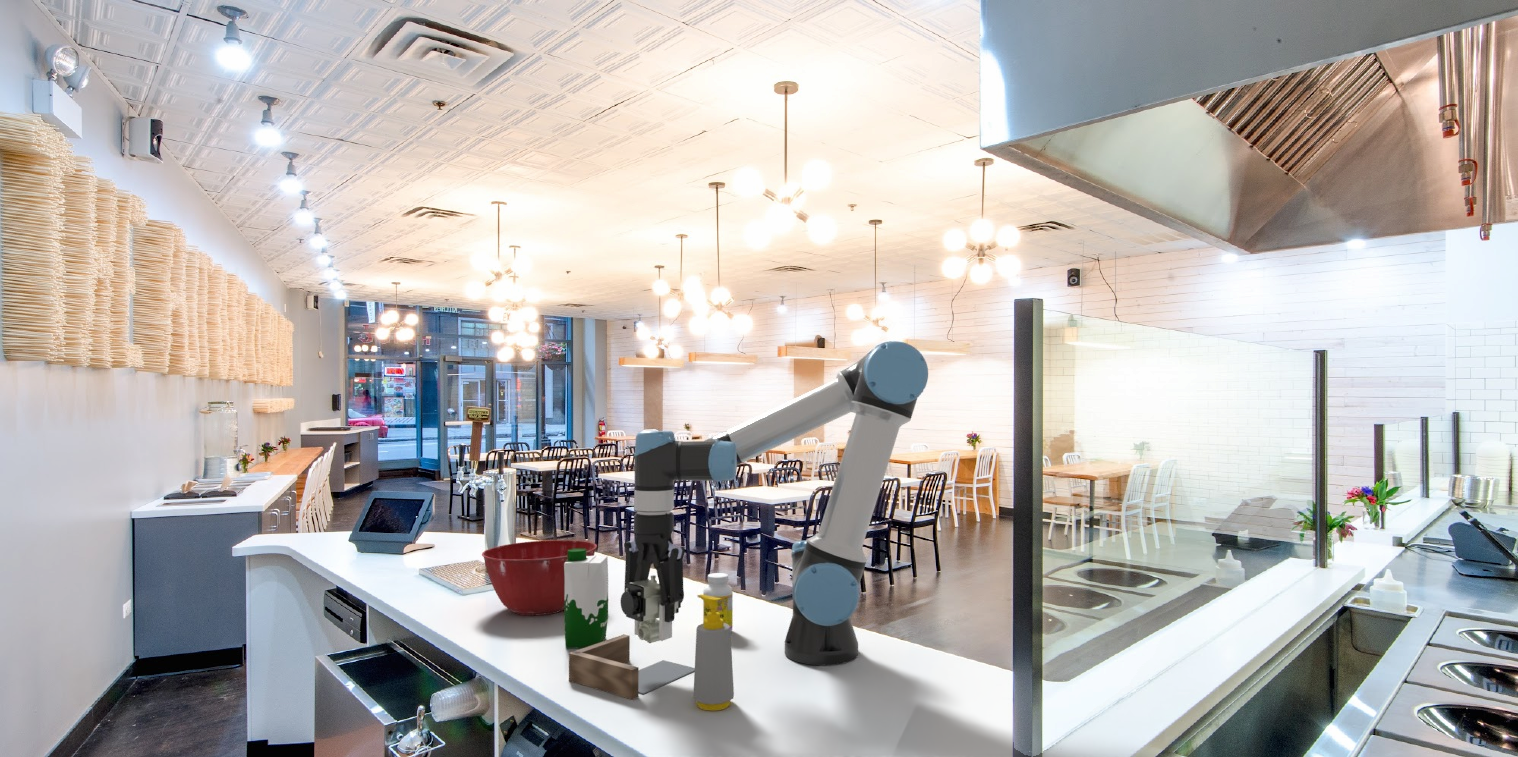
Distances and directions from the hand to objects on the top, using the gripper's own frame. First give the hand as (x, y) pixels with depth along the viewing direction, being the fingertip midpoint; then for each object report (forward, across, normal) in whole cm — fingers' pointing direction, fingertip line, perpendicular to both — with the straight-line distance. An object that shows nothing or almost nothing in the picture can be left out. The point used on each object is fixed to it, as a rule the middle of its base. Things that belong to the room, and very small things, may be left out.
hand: (653, 635), depth 136 cm
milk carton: (+8, +26, -7) cm, 28 cm away
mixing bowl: (+8, +58, -20) cm, 62 cm away
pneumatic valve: (+1, 0, 0) cm, 1 cm away
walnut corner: (+8, +3, +3) cm, 9 cm away
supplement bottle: (+8, +7, -29) cm, 31 cm away
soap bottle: (+8, -18, +4) cm, 20 cm away
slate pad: (+8, 0, 0) cm, 8 cm away
